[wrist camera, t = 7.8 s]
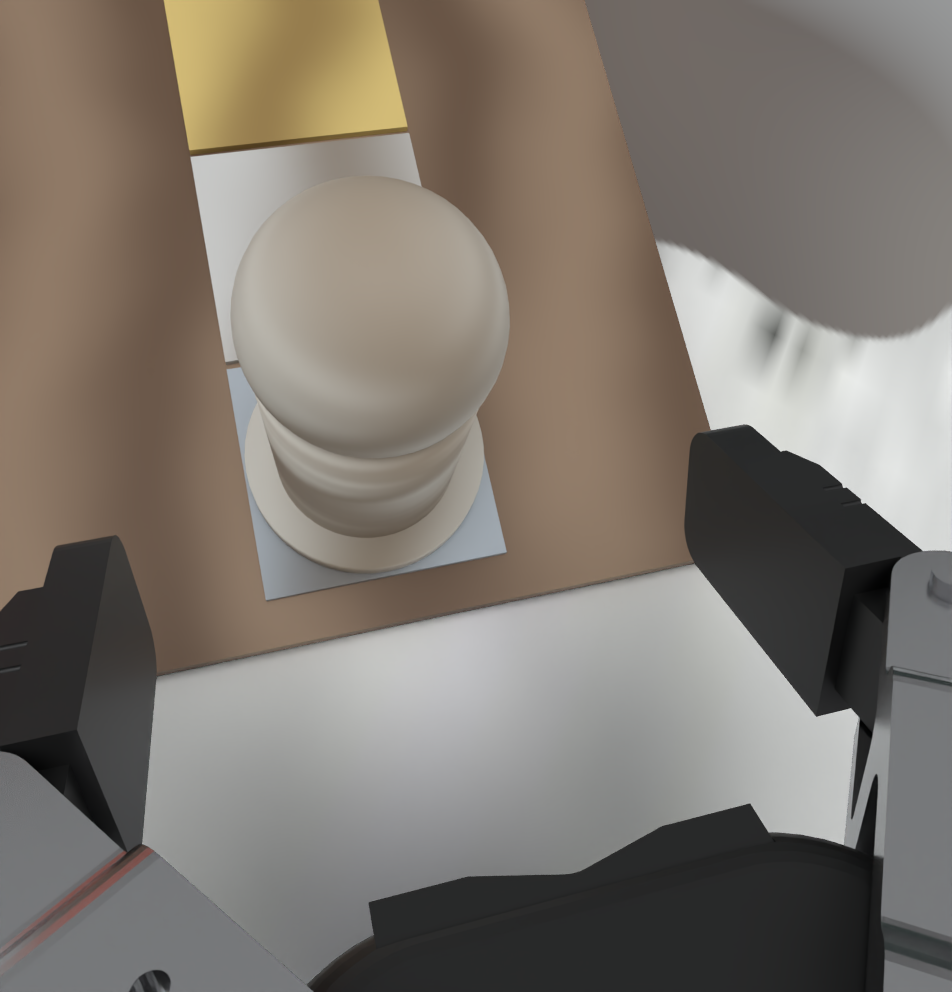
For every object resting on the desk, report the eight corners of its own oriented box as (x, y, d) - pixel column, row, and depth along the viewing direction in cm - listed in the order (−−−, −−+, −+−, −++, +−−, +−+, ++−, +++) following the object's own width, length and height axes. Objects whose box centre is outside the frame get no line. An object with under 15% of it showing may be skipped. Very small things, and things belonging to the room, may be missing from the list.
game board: (-395, 791, 19) (-519, 802, 16) (-400, -59, 24) (-496, -160, 21) (732, 555, 23) (781, 532, 21) (538, -116, 28) (557, -205, 26)
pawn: (268, 594, 21) (195, 480, 11) (231, 371, 22) (136, 95, 12) (501, 549, 22) (619, 409, 12) (453, 338, 23) (526, 58, 13)
